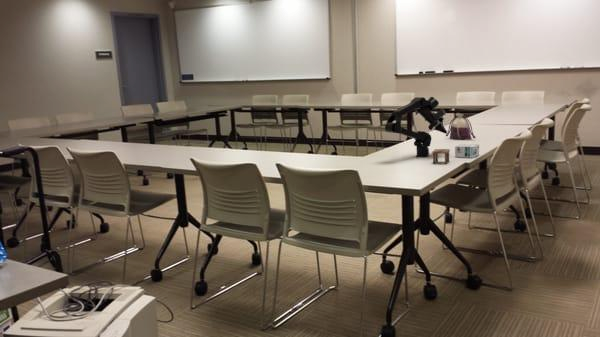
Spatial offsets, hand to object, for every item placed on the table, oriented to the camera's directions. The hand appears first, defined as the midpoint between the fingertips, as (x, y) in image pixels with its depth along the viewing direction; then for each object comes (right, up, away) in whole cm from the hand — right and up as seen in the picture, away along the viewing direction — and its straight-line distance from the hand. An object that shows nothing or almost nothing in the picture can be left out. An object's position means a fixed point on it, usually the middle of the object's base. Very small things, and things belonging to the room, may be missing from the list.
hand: (446, 133), depth 311 cm
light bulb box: (+6, -10, -1) cm, 12 cm away
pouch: (+27, -1, +61) cm, 66 cm away
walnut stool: (-8, -18, -17) cm, 26 cm away
